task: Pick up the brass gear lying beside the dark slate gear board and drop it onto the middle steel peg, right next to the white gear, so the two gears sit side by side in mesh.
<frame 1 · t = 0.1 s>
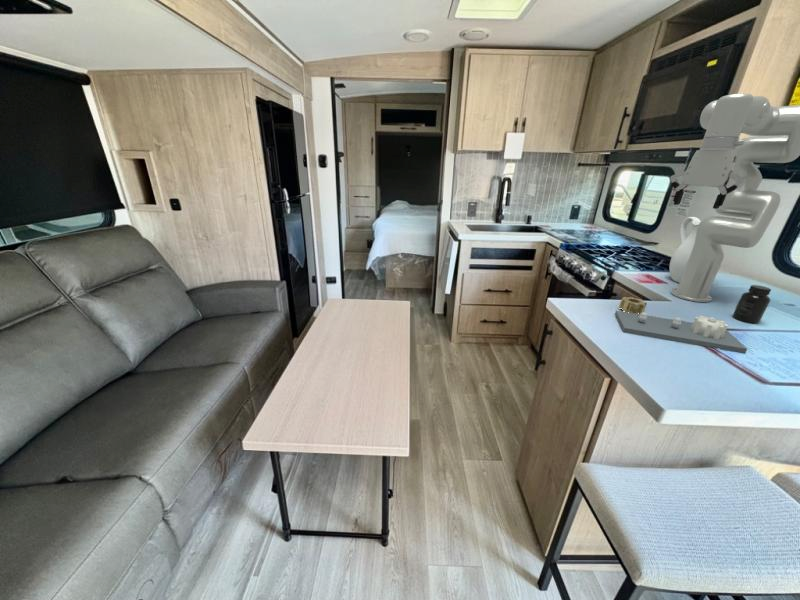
hand: (695, 206, 101), 37 cm above the countertop, tool pointing down, fingers open, 9 cm apart
pitcher: (682, 279, 152), on the countertop
supplement bottle: (744, 320, 114), on the countertop
gear board: (673, 331, 104), on the countertop
brass gear: (630, 310, 118), on the countertop
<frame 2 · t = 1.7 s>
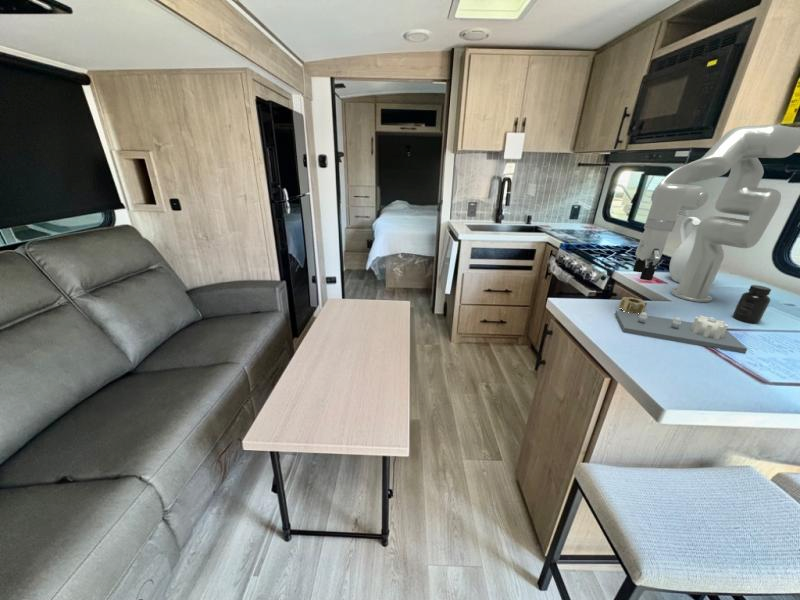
hand: (641, 275, 112), 14 cm above the countertop, tool pointing down, fingers open, 9 cm apart
nothing on the countertop moved.
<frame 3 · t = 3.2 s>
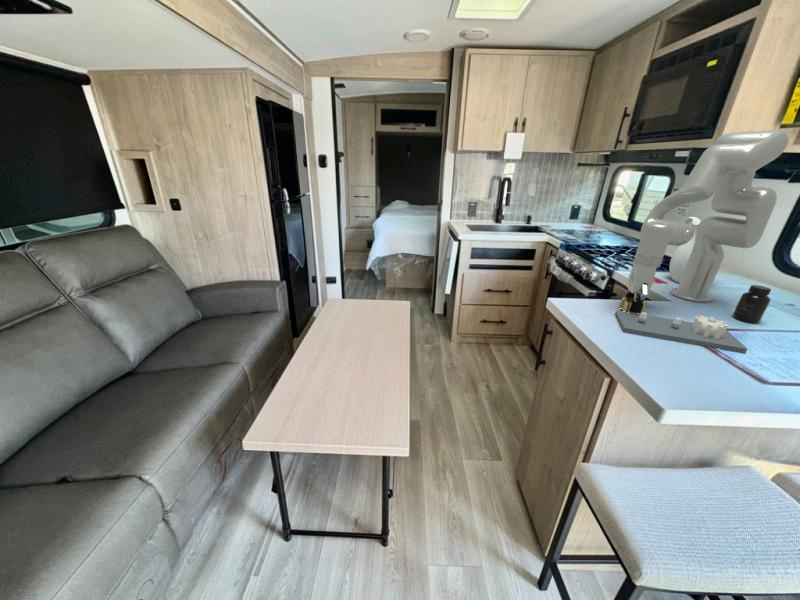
hand: (631, 307, 117), 1 cm above the countertop, tool pointing down, fingers closed on brass gear, 7 cm apart
brass gear: (630, 310, 118), on the countertop, touching gripper
everything else where it was.
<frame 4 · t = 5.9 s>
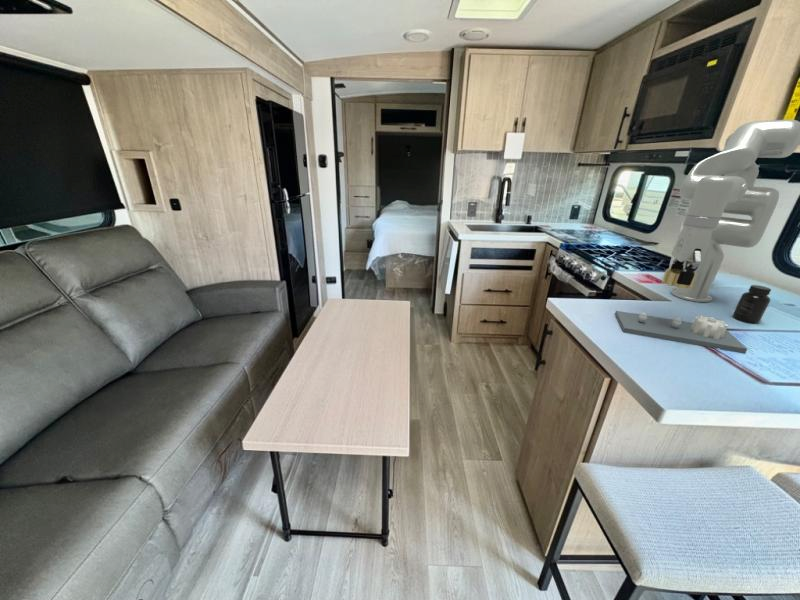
hand: (678, 279, 101), 16 cm above the countertop, tool pointing down, fingers closed on brass gear, 7 cm apart
brass gear: (676, 284, 102), point 15 cm above the countertop, touching gripper
everything else where it was.
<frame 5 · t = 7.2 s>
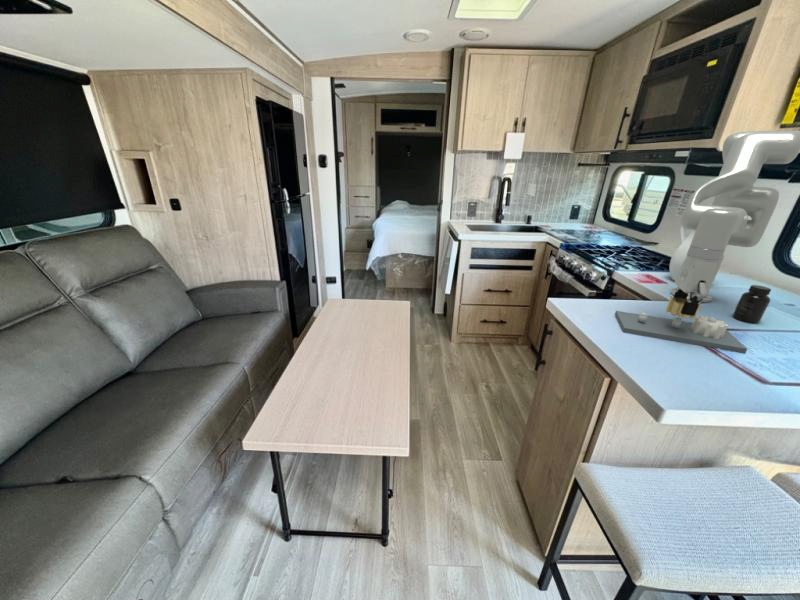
hand: (682, 309, 101), 8 cm above the countertop, tool pointing down, fingers closed on brass gear, 7 cm apart
brass gear: (680, 313, 101), point 7 cm above the countertop, touching gripper
everything else where it was.
when the fingers open (4 cm above the countertop, at t = 8.6 s): brass gear drops 1 cm, resting on gear board.
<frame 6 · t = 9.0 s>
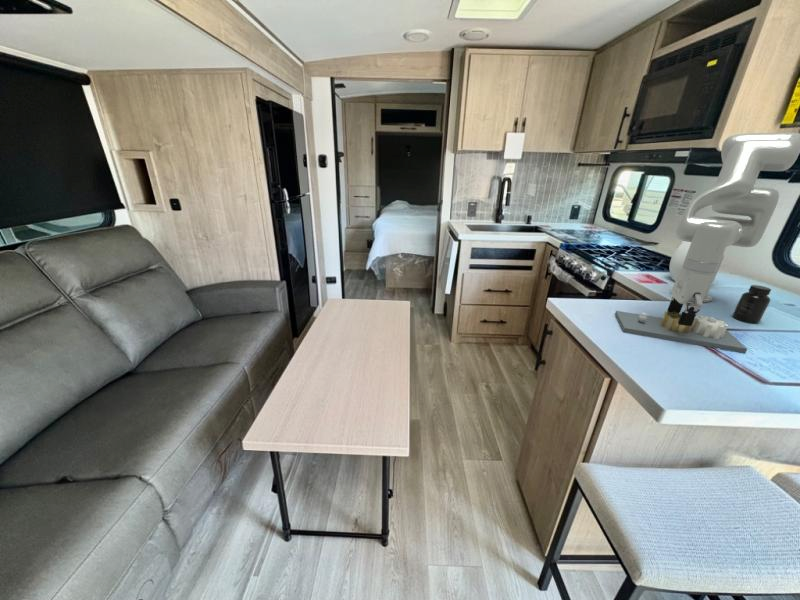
hand: (678, 318, 102), 5 cm above the countertop, tool pointing down, fingers open, 9 cm apart
brass gear: (674, 327, 103), point 1 cm above the countertop, touching gear board
everything else where it was.
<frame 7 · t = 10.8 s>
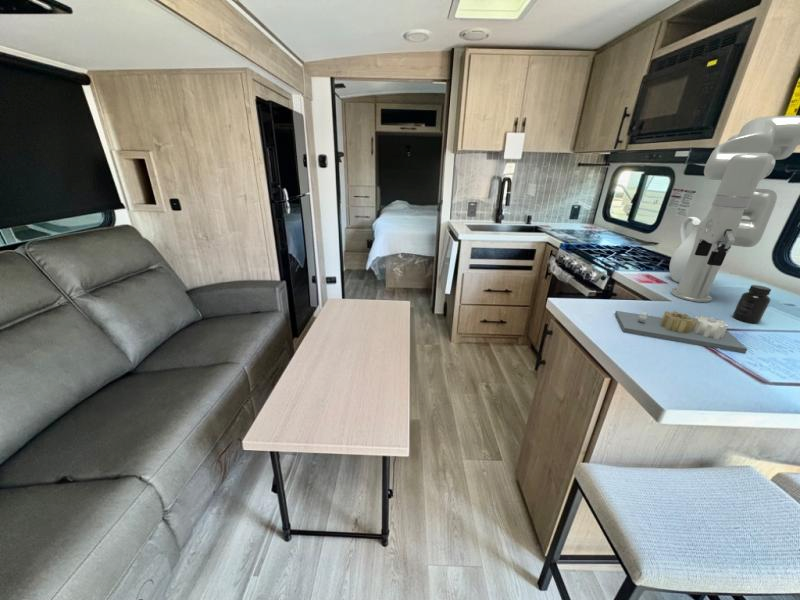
hand: (707, 260, 99), 22 cm above the countertop, tool pointing down, fingers open, 9 cm apart
nothing on the countertop moved.
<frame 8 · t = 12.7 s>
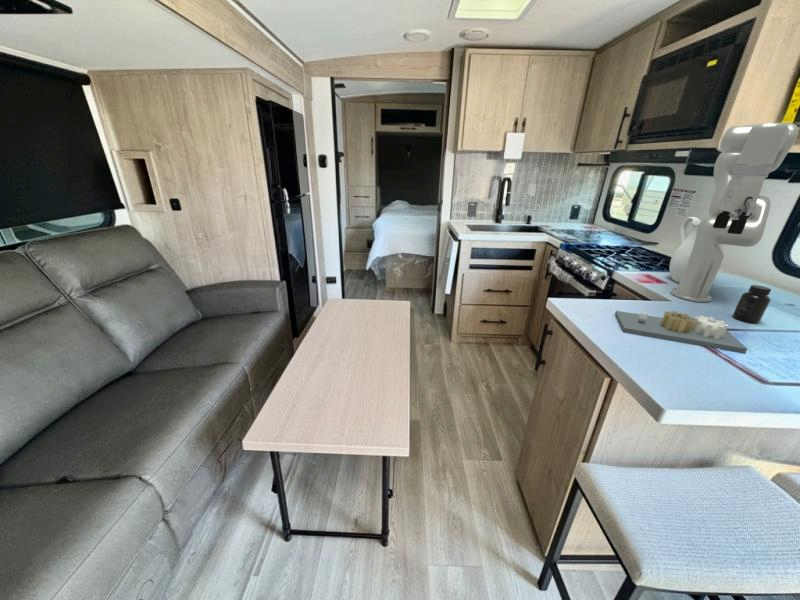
hand: (726, 230, 102), 30 cm above the countertop, tool pointing down, fingers open, 9 cm apart
nothing on the countertop moved.
at the end: brass gear 0.0 cm off-centre on the gear board, point 1.5 cm above the gear board's base; brass gear tilted 0°; the gripper is holding nothing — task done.
